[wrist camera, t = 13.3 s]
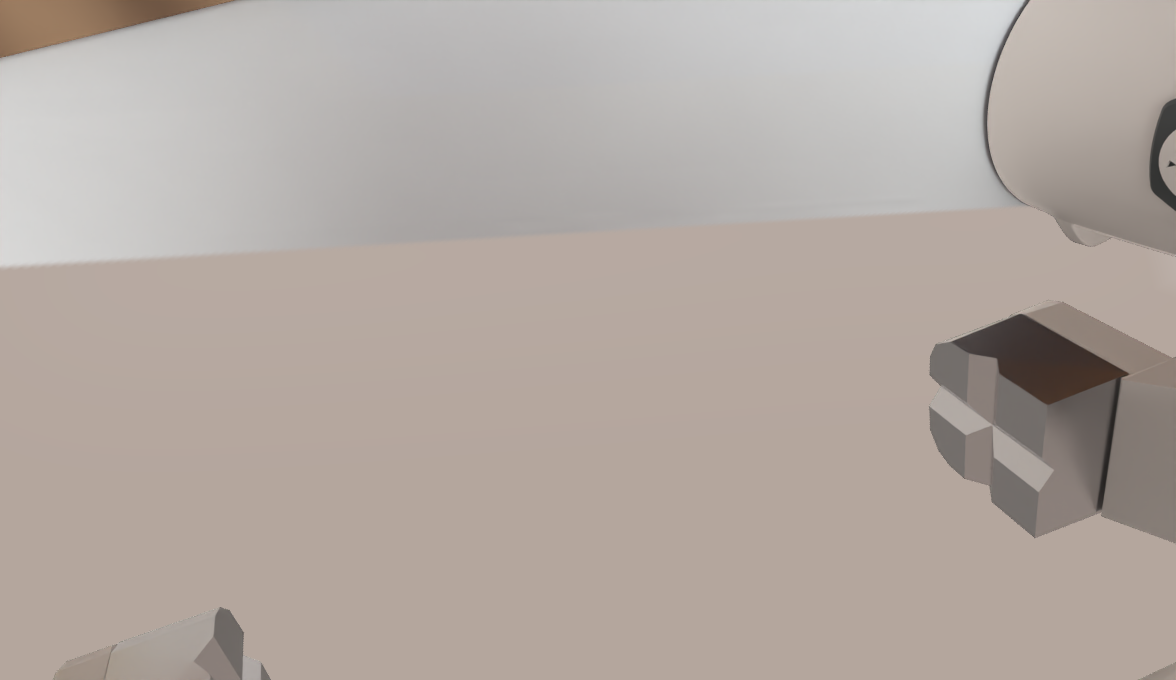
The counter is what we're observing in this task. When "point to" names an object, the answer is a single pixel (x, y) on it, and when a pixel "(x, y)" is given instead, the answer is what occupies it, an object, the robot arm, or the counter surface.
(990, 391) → the robot arm
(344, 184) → the counter surface
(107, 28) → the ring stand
